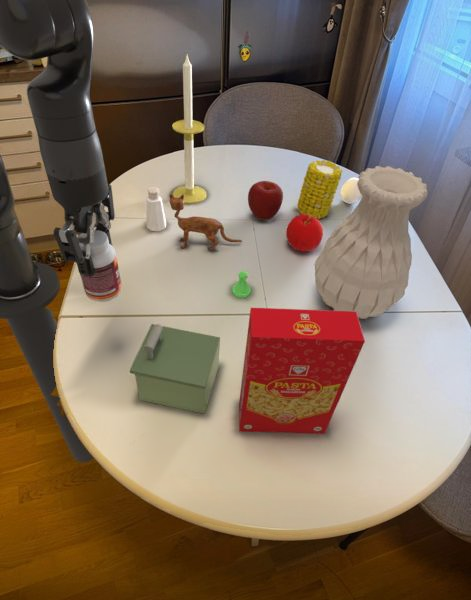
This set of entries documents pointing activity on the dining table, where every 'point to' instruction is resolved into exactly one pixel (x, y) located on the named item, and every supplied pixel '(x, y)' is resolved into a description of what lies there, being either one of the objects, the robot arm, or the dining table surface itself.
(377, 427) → the dining table surface
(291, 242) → the fruit
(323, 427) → the food packaging
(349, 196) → the egg
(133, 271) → the dining table surface
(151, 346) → the bread bin lid
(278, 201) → the apple
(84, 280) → the pill bottle
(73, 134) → the robot arm
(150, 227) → the pepper shaker
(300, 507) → the dining table surface
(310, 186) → the food
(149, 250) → the dining table surface
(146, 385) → the bin
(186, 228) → the cat figurine
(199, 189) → the candle
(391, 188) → the vase
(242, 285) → the game piece
